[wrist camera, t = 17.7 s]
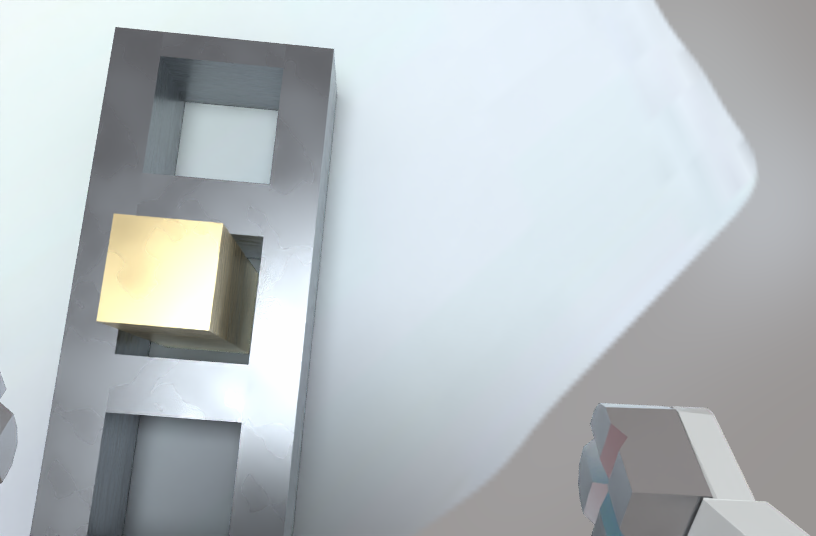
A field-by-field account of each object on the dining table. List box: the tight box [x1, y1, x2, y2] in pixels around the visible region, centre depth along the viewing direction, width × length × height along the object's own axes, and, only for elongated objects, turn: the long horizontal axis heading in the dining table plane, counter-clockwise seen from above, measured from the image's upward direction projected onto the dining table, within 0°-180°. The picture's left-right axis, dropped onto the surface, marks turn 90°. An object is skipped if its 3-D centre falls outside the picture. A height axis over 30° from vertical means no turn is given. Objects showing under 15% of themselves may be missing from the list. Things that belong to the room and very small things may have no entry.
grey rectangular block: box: [30, 27, 337, 536], centre depth 35 cm, size 24×10×5 cm, turn 176°
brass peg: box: [96, 214, 258, 354], centre depth 32 cm, size 4×4×10 cm
